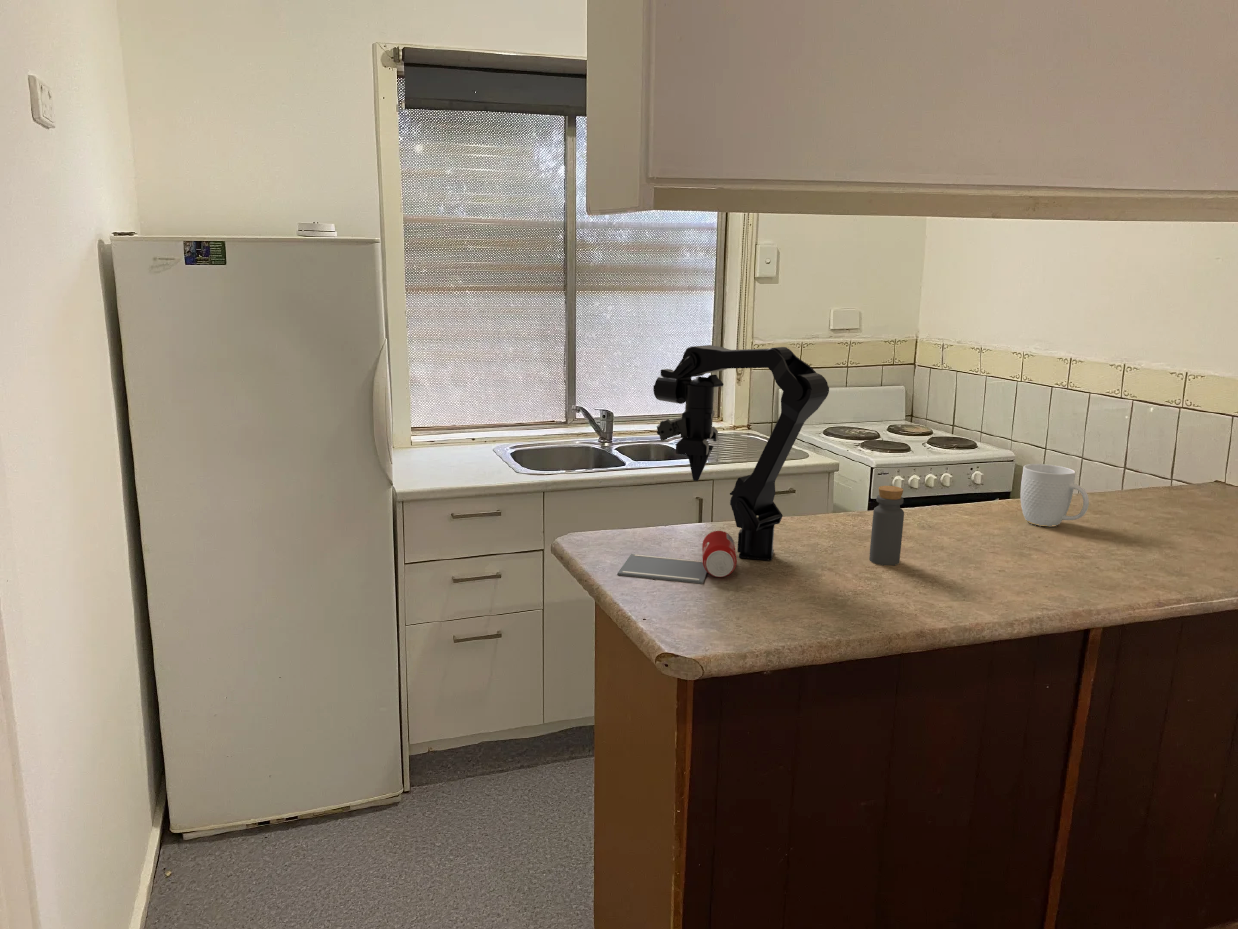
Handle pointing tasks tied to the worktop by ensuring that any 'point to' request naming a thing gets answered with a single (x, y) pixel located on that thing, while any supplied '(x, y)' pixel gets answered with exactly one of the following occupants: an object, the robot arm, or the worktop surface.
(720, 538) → the beverage can
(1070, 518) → the mug
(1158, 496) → the worktop surface
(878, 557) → the bottle
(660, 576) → the mat
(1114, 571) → the worktop surface
